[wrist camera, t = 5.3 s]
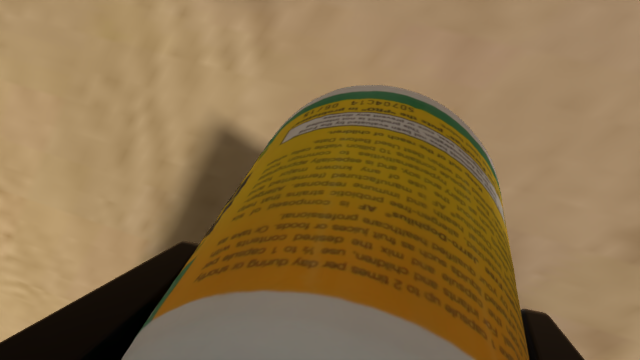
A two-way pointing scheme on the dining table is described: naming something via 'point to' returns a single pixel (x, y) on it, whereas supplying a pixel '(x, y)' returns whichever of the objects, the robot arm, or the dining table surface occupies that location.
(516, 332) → the supplement bottle
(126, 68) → the dining table surface
